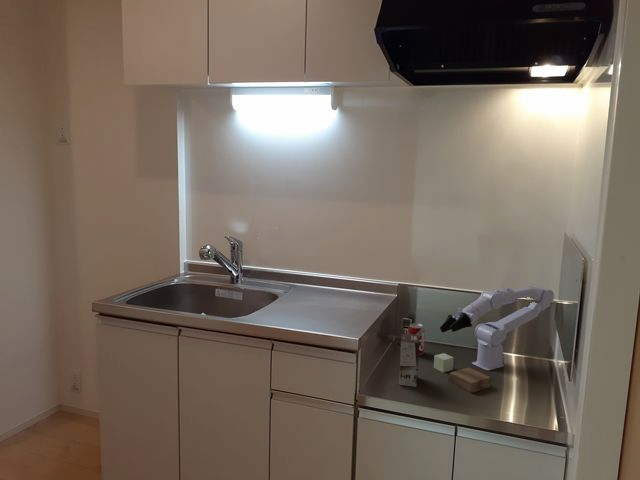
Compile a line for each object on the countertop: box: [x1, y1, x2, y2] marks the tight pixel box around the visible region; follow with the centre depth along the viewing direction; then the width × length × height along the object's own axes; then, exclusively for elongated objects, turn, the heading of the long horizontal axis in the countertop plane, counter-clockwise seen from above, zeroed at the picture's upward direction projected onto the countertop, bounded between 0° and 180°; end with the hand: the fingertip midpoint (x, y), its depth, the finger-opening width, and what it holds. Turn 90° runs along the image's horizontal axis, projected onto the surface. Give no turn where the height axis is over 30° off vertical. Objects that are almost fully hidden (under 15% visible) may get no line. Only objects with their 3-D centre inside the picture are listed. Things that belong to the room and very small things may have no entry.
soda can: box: [407, 322, 426, 356], centre depth 214 cm, size 7×7×12 cm
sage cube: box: [433, 352, 455, 373], centre depth 200 cm, size 5×5×5 cm
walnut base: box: [448, 366, 492, 394], centre depth 186 cm, size 10×10×4 cm
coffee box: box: [398, 333, 420, 388], centre depth 188 cm, size 9×6×16 cm
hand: (446, 329), depth 193 cm, fingers open, 7 cm apart
